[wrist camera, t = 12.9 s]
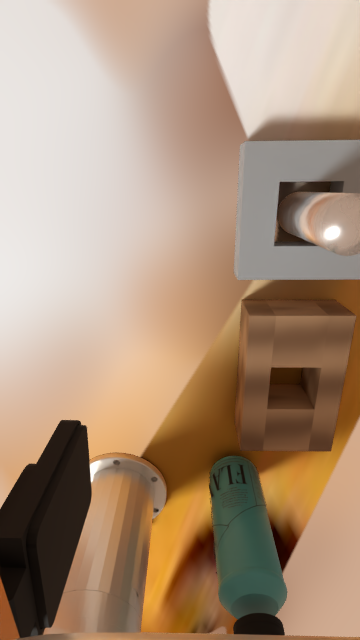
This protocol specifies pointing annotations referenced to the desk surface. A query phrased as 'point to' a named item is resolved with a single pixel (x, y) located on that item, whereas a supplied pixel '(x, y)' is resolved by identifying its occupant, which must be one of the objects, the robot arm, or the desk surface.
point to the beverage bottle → (245, 549)
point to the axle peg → (323, 220)
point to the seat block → (262, 200)
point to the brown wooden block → (291, 351)
